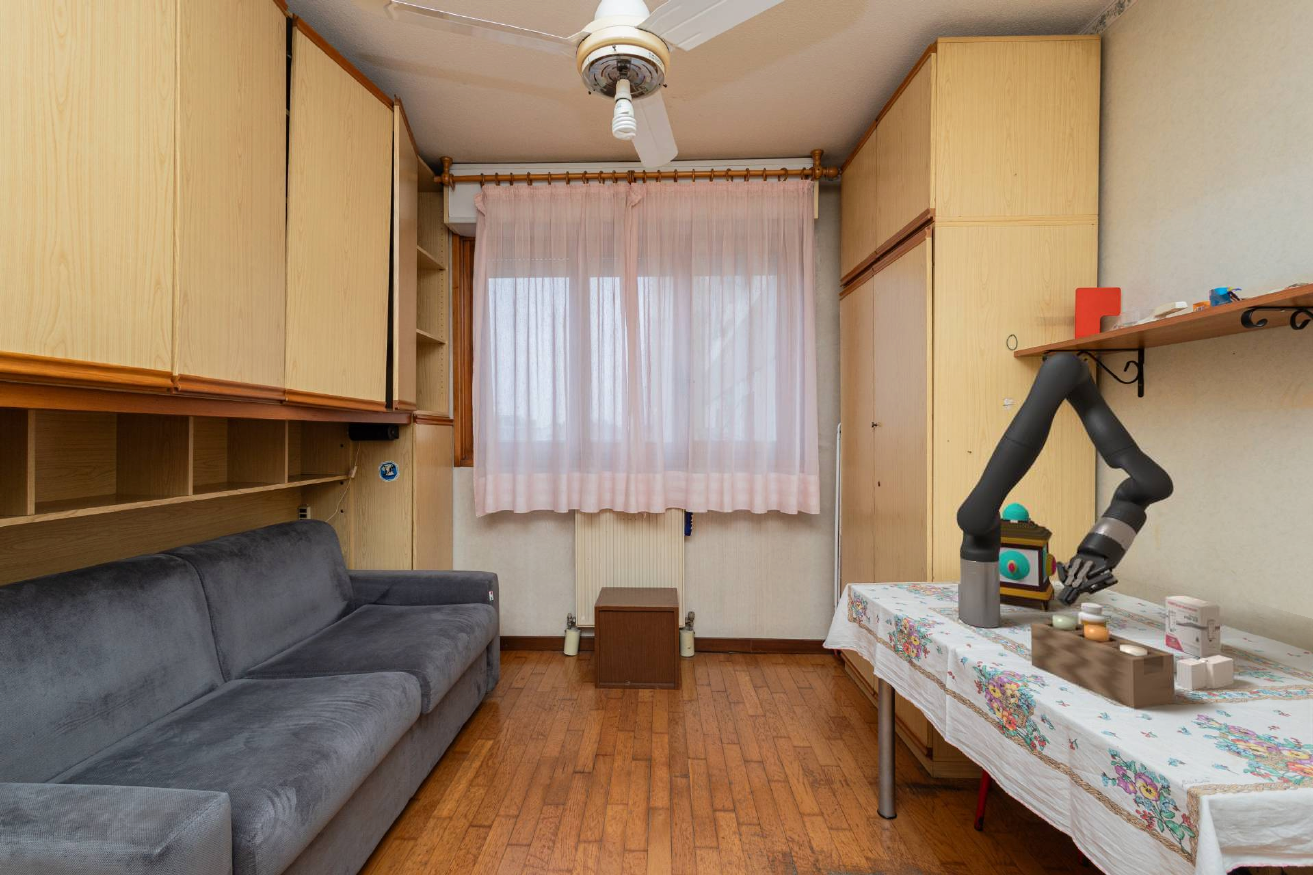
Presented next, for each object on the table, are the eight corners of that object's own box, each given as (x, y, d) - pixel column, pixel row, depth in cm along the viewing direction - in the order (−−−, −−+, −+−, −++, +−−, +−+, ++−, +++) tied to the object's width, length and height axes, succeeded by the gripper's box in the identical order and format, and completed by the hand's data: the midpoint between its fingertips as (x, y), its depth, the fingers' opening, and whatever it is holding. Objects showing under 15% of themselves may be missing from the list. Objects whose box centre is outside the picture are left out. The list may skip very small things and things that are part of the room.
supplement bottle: (1112, 650, 131) (1111, 608, 131) (1086, 648, 132) (1085, 607, 132) (1098, 642, 136) (1098, 602, 136) (1073, 640, 137) (1073, 601, 137)
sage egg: (1048, 629, 122) (1048, 615, 122) (1062, 627, 123) (1062, 614, 123) (1065, 635, 118) (1065, 621, 118) (1080, 633, 119) (1080, 619, 119)
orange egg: (1079, 640, 115) (1079, 625, 115) (1094, 638, 116) (1094, 623, 116) (1099, 647, 111) (1098, 632, 112) (1114, 645, 112) (1114, 630, 112)
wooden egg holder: (1031, 664, 123) (1030, 623, 123) (1067, 660, 125) (1067, 619, 125) (1133, 708, 102) (1132, 659, 103) (1174, 702, 105) (1173, 654, 105)
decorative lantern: (973, 602, 170) (971, 503, 171) (986, 588, 186) (984, 498, 186) (1053, 614, 157) (1051, 508, 158) (1060, 599, 173) (1058, 501, 173)
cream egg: (1114, 661, 109) (1114, 645, 109) (1130, 659, 110) (1130, 643, 110) (1136, 669, 105) (1136, 653, 105) (1153, 666, 106) (1152, 651, 106)
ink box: (1164, 644, 134) (1162, 595, 134) (1182, 644, 134) (1181, 594, 134) (1202, 658, 125) (1201, 605, 125) (1222, 657, 125) (1221, 605, 125)
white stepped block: (1229, 678, 116) (1229, 651, 116) (1269, 703, 105) (1269, 672, 105) (1141, 670, 120) (1140, 643, 120) (1170, 693, 110) (1170, 664, 110)
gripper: (1068, 527, 130) (1026, 584, 127) (1128, 536, 117) (1083, 599, 114) (1086, 548, 131) (1045, 605, 128) (1148, 559, 118) (1104, 623, 115)
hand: (1063, 602), depth 121 cm, fingers closed
